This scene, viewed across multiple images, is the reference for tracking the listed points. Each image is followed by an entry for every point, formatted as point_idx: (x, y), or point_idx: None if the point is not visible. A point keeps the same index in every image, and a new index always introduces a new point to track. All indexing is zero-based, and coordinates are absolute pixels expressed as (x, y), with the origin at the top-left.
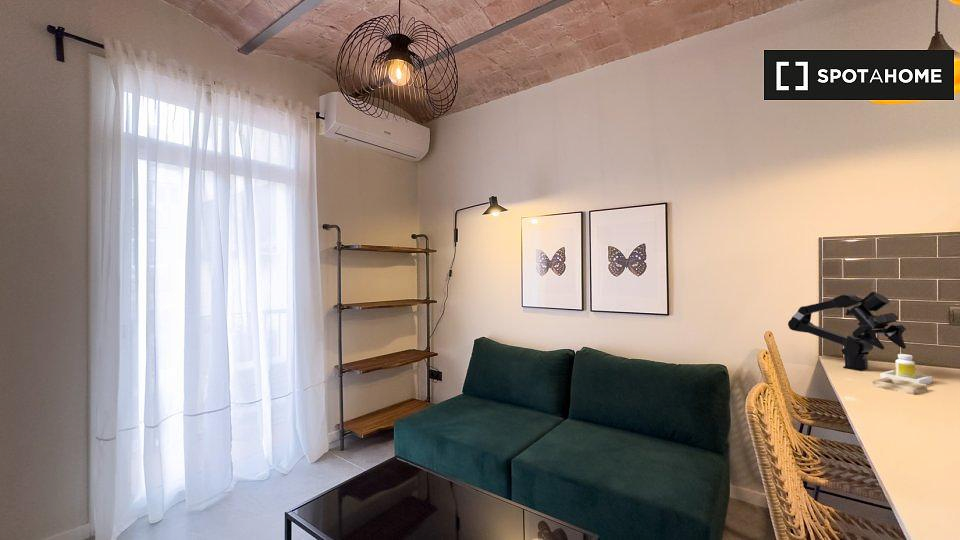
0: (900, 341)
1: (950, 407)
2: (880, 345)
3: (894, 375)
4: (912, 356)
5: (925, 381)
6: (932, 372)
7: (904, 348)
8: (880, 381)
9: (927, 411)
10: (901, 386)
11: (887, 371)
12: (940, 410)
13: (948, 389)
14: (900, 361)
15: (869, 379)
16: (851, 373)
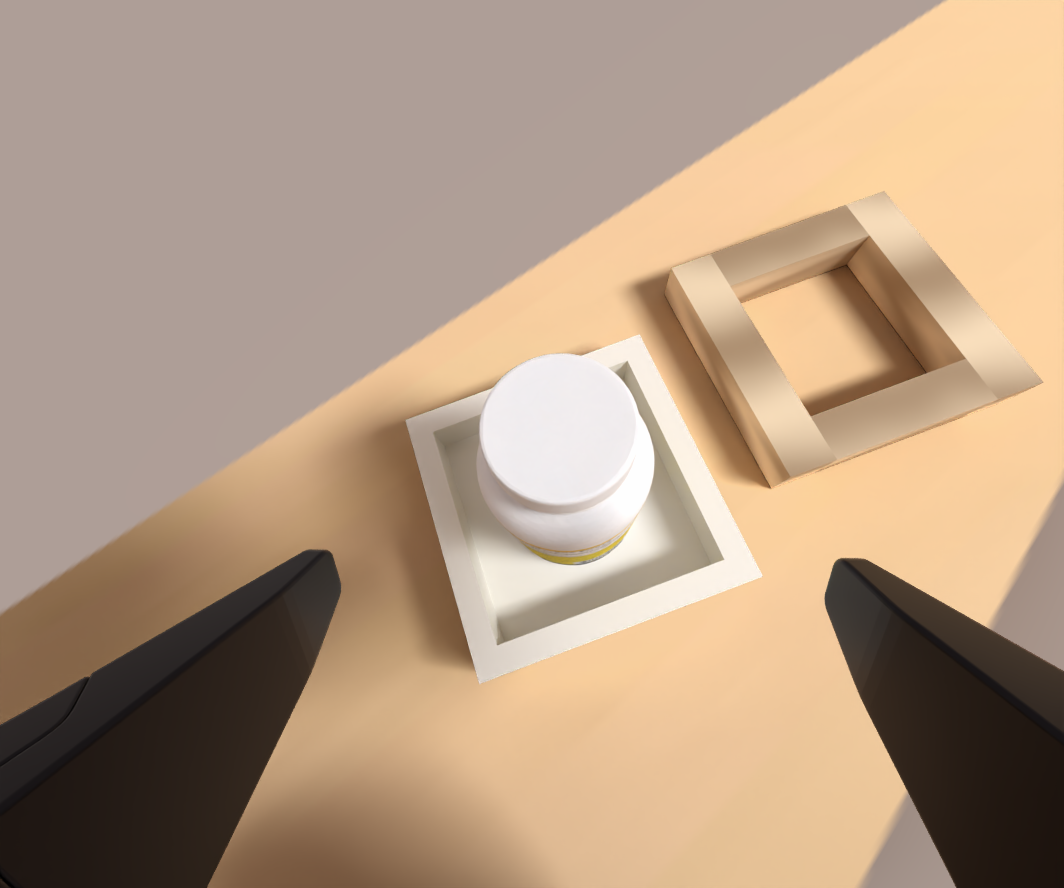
0: (213, 675)
1: (863, 57)
2: (941, 620)
3: (700, 481)
4: (516, 369)
5: None
6: None
7: (330, 575)
8: (980, 363)
9: (1054, 13)
10: (917, 242)
11: (615, 629)
12: (965, 25)
13: (502, 301)
14: (645, 441)
15: None
16: (852, 854)
